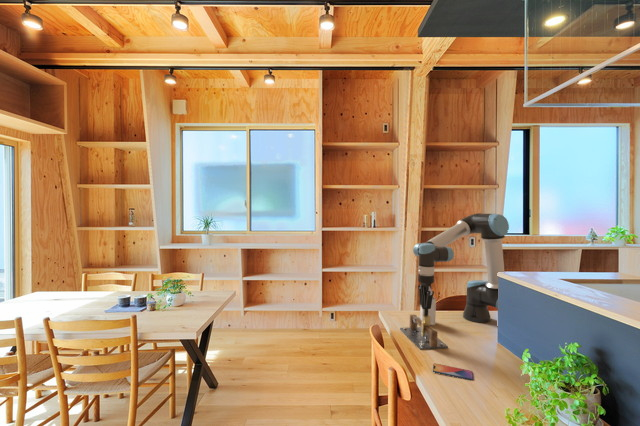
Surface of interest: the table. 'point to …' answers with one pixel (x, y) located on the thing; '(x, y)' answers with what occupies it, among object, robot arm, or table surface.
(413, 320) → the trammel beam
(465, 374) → the smartphone
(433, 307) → the milk carton
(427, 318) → the slider
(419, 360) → the table surface
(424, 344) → the flange plate
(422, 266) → the robot arm
